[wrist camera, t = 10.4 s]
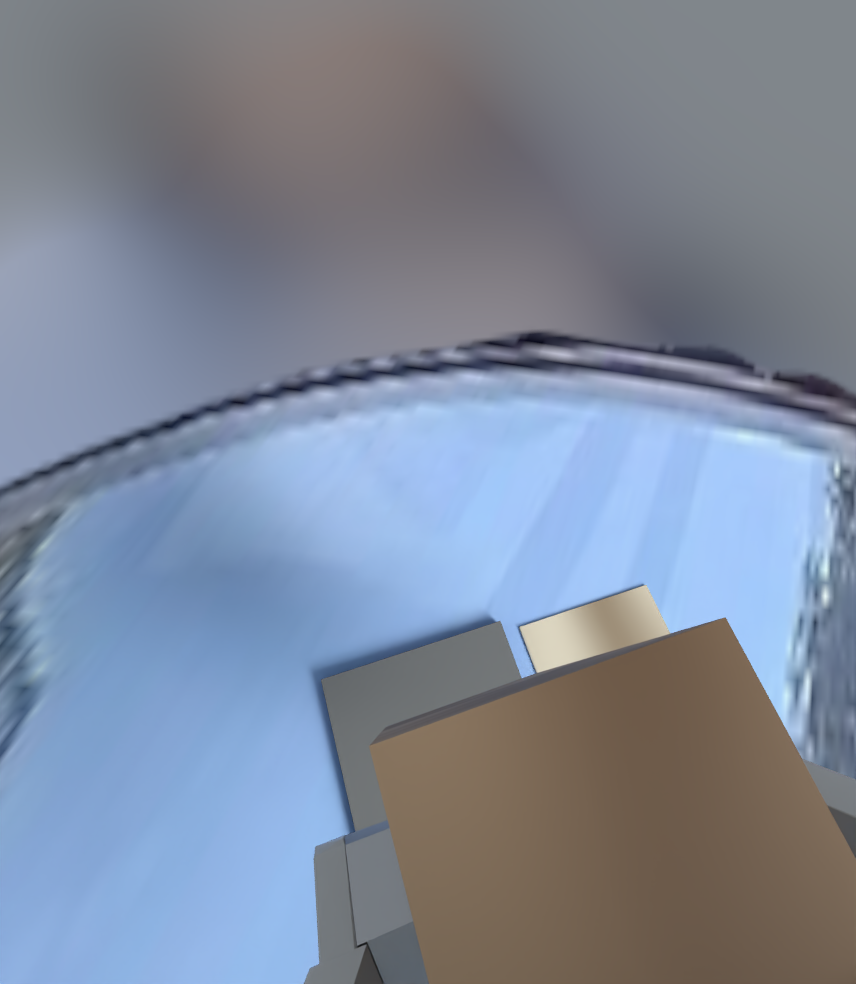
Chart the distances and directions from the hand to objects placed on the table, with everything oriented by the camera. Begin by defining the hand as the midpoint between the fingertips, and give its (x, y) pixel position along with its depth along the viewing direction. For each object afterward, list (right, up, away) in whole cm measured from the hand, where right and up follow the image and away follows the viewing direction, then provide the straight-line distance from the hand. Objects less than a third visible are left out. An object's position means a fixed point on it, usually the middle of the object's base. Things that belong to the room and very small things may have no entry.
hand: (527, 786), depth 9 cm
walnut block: (0, -2, +4) cm, 5 cm away
